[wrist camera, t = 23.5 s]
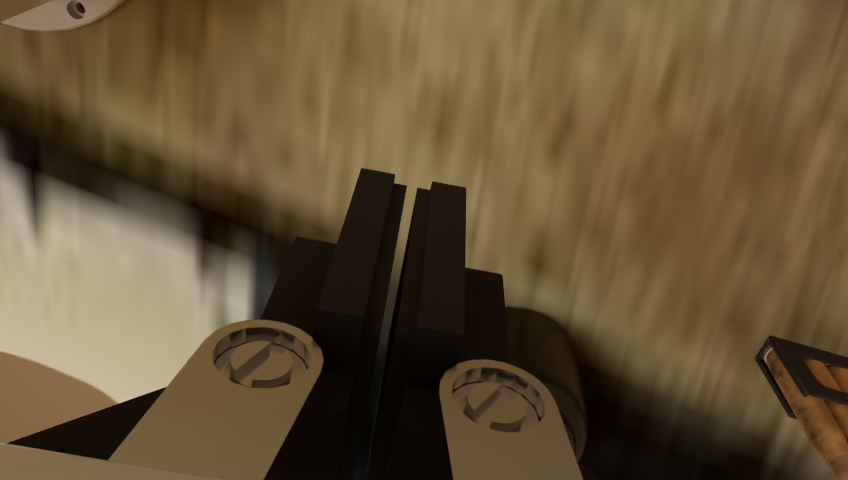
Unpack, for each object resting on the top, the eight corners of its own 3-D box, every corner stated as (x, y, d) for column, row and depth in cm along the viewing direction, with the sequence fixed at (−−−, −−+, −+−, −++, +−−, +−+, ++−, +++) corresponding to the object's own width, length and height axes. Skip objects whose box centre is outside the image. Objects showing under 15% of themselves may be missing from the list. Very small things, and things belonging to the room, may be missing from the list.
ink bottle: (433, 295, 45) (421, 440, 34) (583, 299, 44) (618, 446, 34) (433, 421, 49) (423, 581, 39) (569, 425, 49) (595, 589, 38)
